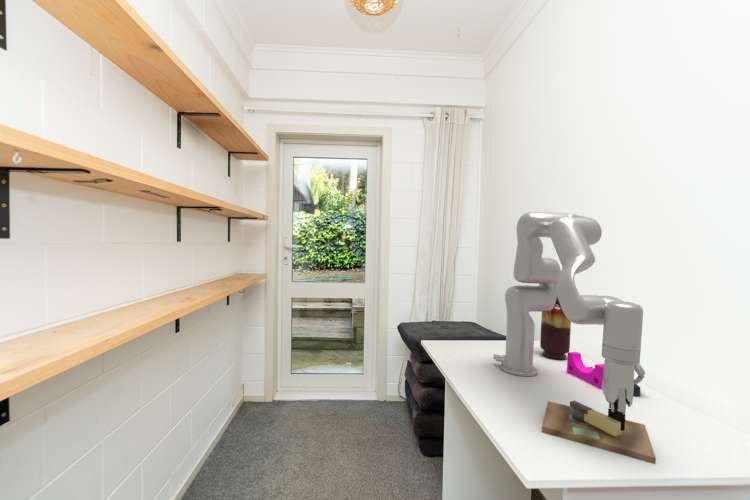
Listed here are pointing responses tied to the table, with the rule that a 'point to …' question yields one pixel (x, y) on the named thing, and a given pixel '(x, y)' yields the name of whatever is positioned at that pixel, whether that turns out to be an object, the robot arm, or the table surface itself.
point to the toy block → (584, 370)
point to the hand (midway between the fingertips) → (615, 427)
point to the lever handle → (595, 418)
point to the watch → (638, 379)
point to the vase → (555, 332)
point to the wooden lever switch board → (598, 433)
